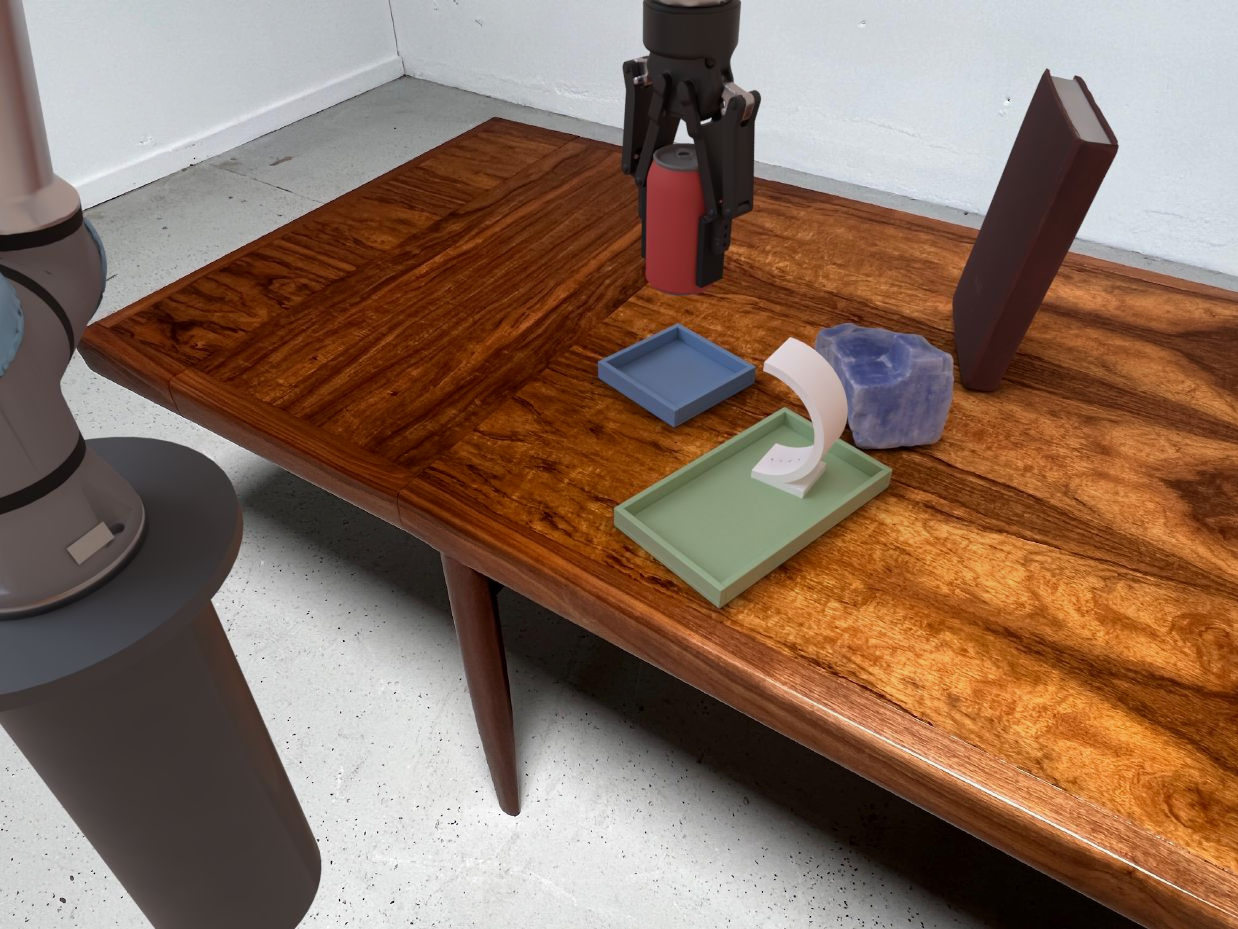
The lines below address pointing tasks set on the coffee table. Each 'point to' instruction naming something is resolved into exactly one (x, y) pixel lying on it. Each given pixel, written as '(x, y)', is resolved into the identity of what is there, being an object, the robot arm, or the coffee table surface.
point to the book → (1029, 225)
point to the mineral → (889, 384)
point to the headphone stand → (826, 410)
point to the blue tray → (676, 374)
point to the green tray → (745, 508)
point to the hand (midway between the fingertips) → (681, 267)
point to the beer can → (674, 220)
